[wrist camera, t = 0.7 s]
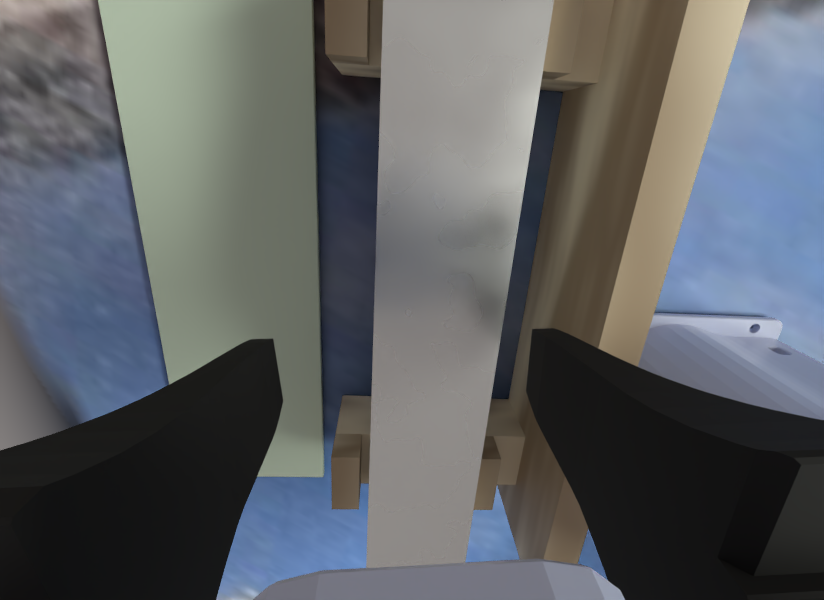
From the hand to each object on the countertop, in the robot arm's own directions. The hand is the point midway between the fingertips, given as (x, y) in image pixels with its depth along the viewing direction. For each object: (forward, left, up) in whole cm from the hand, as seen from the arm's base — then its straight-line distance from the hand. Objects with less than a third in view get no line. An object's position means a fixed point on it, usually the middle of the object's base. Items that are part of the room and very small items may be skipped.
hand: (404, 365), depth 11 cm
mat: (+7, -1, -8) cm, 11 cm away
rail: (-1, -1, -5) cm, 6 cm away
